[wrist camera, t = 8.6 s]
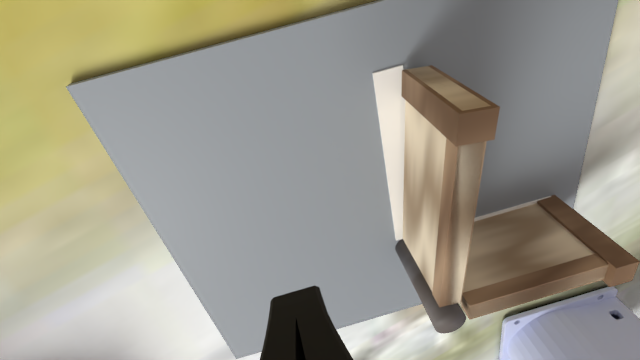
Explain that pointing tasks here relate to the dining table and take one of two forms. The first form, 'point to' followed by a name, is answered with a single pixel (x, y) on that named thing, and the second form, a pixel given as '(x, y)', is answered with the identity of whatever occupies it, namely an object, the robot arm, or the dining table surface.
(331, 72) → the card
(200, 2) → the dining table surface
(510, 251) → the fixed fence section
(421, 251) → the post
